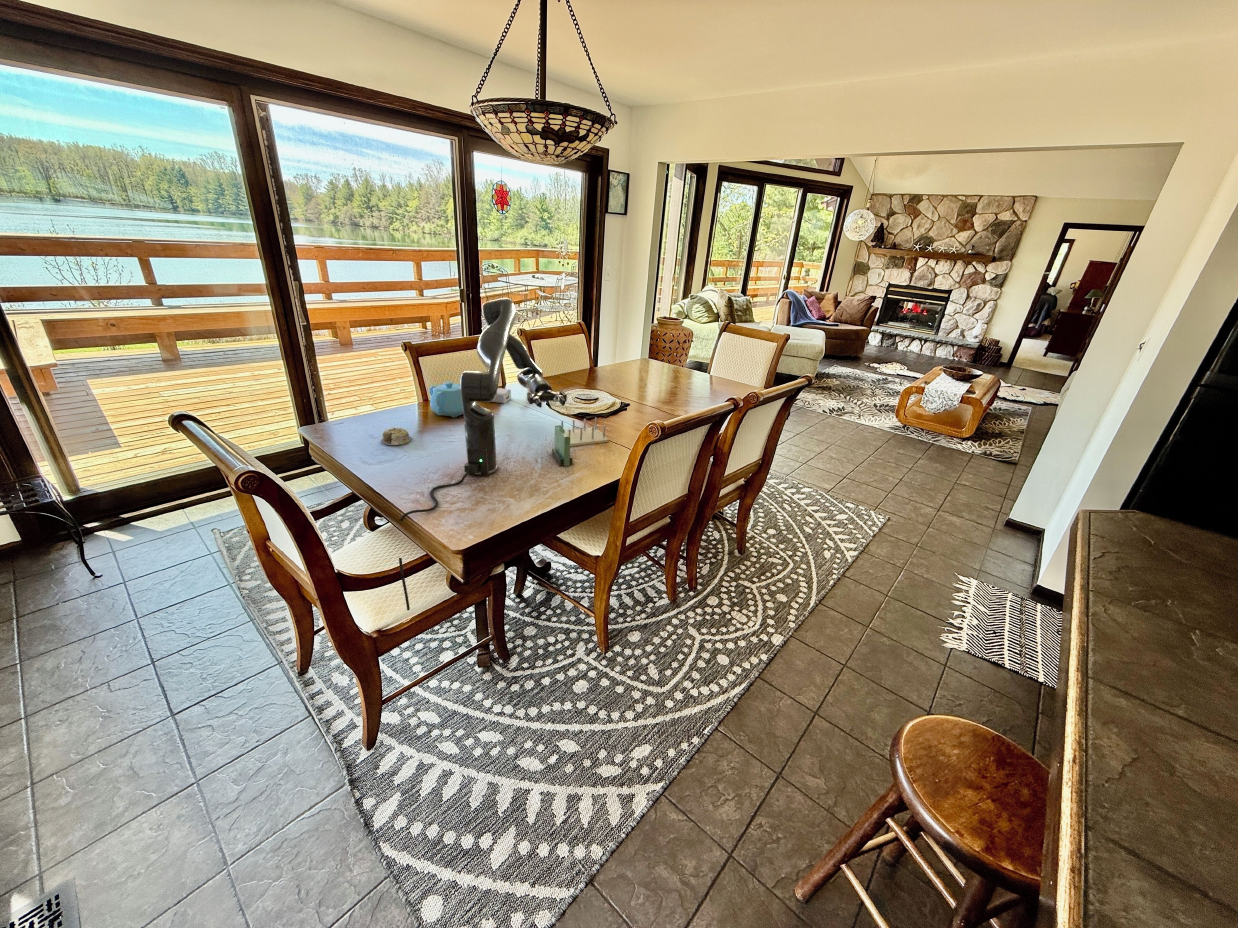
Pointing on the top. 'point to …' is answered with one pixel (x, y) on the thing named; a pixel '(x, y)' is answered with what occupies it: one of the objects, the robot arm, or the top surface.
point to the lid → (562, 444)
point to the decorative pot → (446, 399)
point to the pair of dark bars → (558, 458)
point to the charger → (502, 395)
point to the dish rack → (585, 435)
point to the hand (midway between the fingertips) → (552, 404)
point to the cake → (395, 436)
